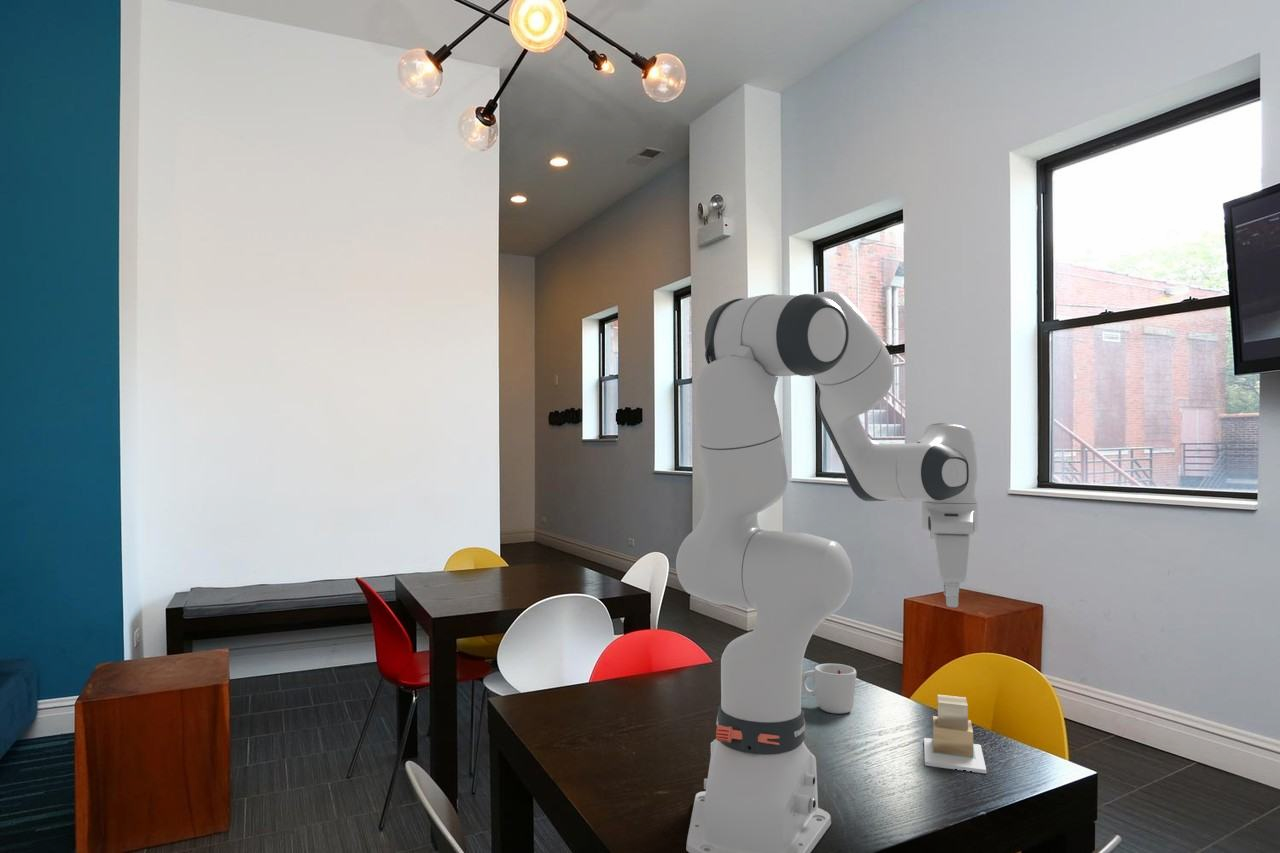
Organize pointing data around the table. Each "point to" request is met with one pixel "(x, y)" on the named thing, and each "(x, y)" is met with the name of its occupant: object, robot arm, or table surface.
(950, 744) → the oak block
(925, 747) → the plate
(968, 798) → the table surface
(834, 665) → the cup
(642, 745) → the table surface
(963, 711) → the maple block
